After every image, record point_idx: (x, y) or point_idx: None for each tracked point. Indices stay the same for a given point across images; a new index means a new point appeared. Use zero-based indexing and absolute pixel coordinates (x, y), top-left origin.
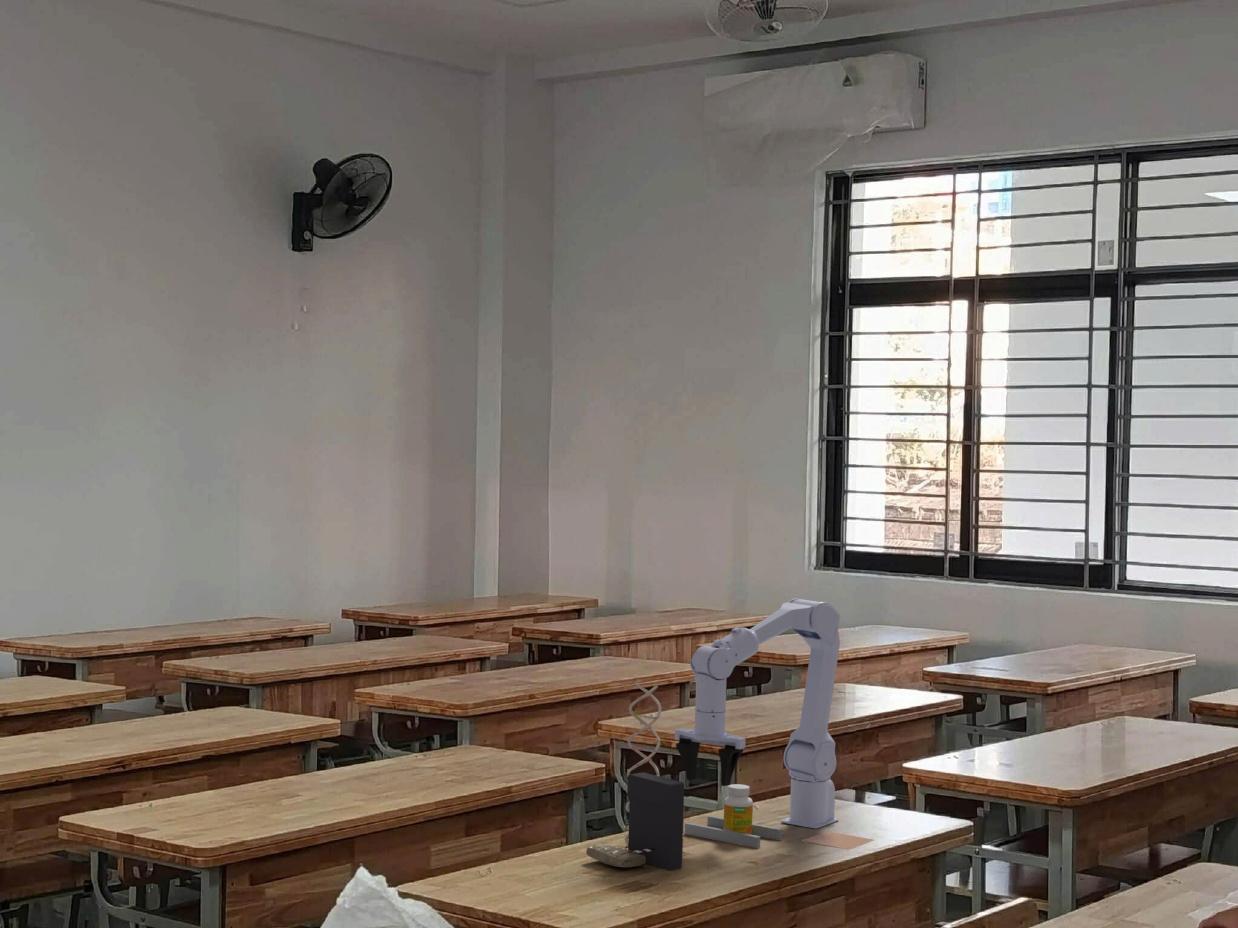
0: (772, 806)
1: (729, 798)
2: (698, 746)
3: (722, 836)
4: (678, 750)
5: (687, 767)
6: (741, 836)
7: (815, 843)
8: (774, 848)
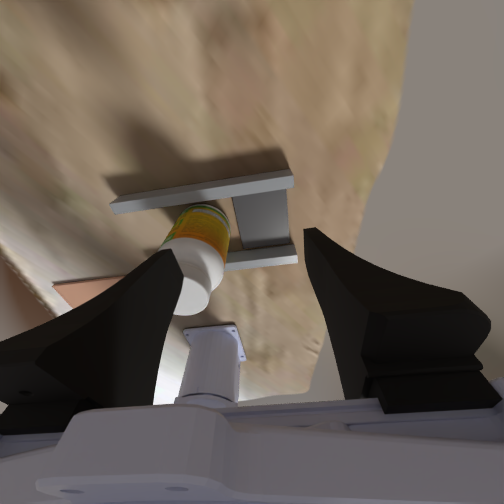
0: (298, 361)
1: (190, 254)
2: (343, 384)
3: (195, 187)
4: (421, 283)
5: (322, 247)
6: (147, 196)
7: (105, 279)
8: (108, 218)
